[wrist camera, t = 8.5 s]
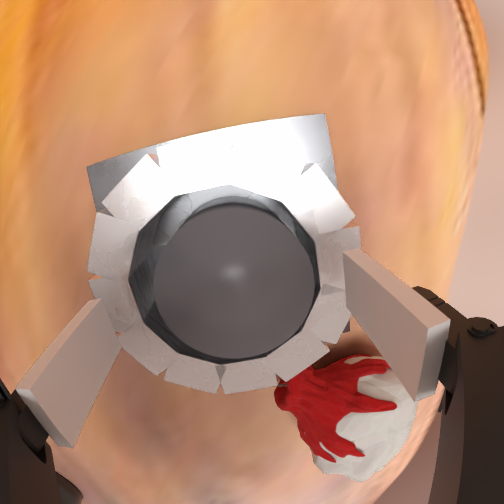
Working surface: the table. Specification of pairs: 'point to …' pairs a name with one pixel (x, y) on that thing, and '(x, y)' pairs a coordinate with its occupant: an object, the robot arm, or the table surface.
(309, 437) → the candle
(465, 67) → the table surface
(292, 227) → the square flange collar
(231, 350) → the cap
